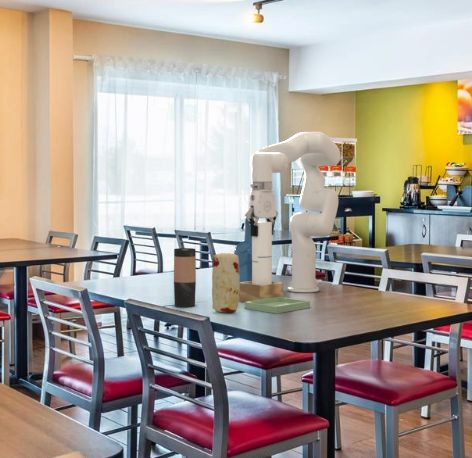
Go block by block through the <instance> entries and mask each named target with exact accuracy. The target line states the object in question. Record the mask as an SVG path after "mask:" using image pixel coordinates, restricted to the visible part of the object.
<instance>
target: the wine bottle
mask: <svg viewBox="0 0 472 458" xmlns="http://www.w3.org/2000/svg"><path fill="white" fill-rule="evenodd" d="M233 254H235V255H237V256H238V258H239V275H240V282H247V281H252V236H251V225H249V222H248V221H247V218H246V217H245V219H244V240H243V241H241V242H240V243H238V244H237V245H236V247H234V250H233Z"/></svg>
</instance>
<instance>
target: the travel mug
mask: <svg viewBox="0 0 472 458" xmlns="http://www.w3.org/2000/svg"><path fill="white" fill-rule="evenodd" d="M196 253H197V252H196V248H193V247H179V248H178V247H177V248H174V249H173V298H174V307H176V308H193V307H195V306H196V289H197V287H196V286H197V284H196V283H197V270H196V269H197V265H196V262H197V261H196V259H197V258H196V256H197V255H196Z"/></svg>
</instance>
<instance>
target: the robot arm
mask: <svg viewBox="0 0 472 458" xmlns="http://www.w3.org/2000/svg"><path fill="white" fill-rule="evenodd" d="M297 160H300V163H301V166H302V169H303V170H302V171H303V173H304V180H303V185H302V188H301V193H300V197H299V203H298V204H299V208H300V209H301V210H302V211H300V212H295V213H293V214H292V216H291V217H290V219H289V228H290V234H291V235H290V236H291V286H288V287H287V291H289V292H293V293H318V292H319V291H320V287H318V285H322V284H323V280H322V279H318V278H316V275H317V274H316V272H317V271H316V270H317V269H316V267H317V266H316V265H317V263H316V261H317V259H316V258H317V247H316V244H315V242H314V240H313V238H312V237H314V238H315V237H316V238H317V237H319V238H327V237H329V236H330V235H332V232H333V229H334V225H335V221H336V217H337V213H338V208H339V195H338V193H337V191H336V190H335V189H333V188H326V187H325V185H326V177H325V175H324V173H323V172H322V170H321V169H320V167H334V166H337V165H338V164H339V162H340V160H341V151H340V149H339V147H338V145H337V144H336V142H335V141H333V140H332V139H331V137H330V136H329V135H327V134H326V133H324V132H322V131H301V132H299V133H296V134H294V135H293V136H291V137H290V138H288V139H286V140H285V141H281V142H278V143H275V144H271V145H267V146H264V147H262V148H260V149H258V150H256V151H255V152H254V153H253V154H251V157H250V160H249V166H250V168H251V169H250V170H251V184H250V188H251V190H250V193H249V199H248V200H249V201H248V210H247V211H246V213H245V214H244V217H245V218H247V221H248V222H249V225H251V236H254V237H257V236H258V226H257V223H258V222H259V220H260V219H264V220H265V222H272V236H273V235H274V225H275V222H276V220H277V217H278V215H279V212H278V211H277V207H276V206H277V204H276V196H275V191H274V190H273V174H281V173H283V172H285V171H286V170H287V169H288V167H289V164H290V163H294V162H296V161H297Z"/></svg>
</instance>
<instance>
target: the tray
mask: <svg viewBox="0 0 472 458" xmlns="http://www.w3.org/2000/svg"><path fill="white" fill-rule="evenodd" d="M310 308H311V301H310V300H304V299H297V298H291V297H284V296H283V297H274V298H268V299H261V300H254V301H248V302H245V303H244V309H247V310H251V311H258V312H264V313H269V314H270V313H271V314H281V313H288V312H293V311H299V310H305V309H310Z"/></svg>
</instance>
